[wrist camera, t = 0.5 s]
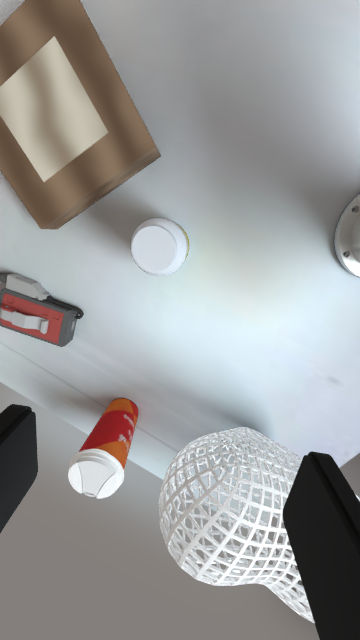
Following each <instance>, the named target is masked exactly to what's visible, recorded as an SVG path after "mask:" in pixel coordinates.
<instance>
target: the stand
mask: <svg viewBox="0 0 360 640" xmlns="http://www.w3.org/2000/svg"><path fill="white" fill-rule="evenodd" d="M160 156H161V155H160V153H159V151H158V149H157V147H156V145H155V143H154V141H153V140H152V138H151V136H150V134H149V132H148V130H147V128H146V126H145V124H144V122H143V120H142V119H141V117H140V115H139V113H138V111H137V109H136V107H135V105H134V103H133V101H132V99H131V97H130V96H129V94H128V92H127V90H126V88H125V86H124V84H123V82H122V80H121V78H120V76H119V74H118V73H117V71H116V69H115V67H114V65H113V63H112V61H111V59H110V57H109V55H108V53H107V51H106V50H105V48H104V46H103V44H102V42H101V40H100V38H99V36H98V34H97V32H96V30H95V29H94V27H93V25H92V23H91V21H90V19H89V17H88V15H87V13H86V11H85V9H84V7H83V6H82V4H81V2H80V0H25V1H24V2H23V3H22V4H21V5H20V7H19V8H18V9H17V10H16V11H15V12H14V13H13V14H12V15H11V16H10V17H9V18H8V19H7V20H6V21H5V22H4V23H3V24H2V25H1V26H0V170H1V171H2V173H3V174H4V176H5V177H6V179H7V180H8V182H9V183H10V185H11V186H12V187H13V189H14V190H15V192H16V193H17V195H18V196H19V198H20V199H21V201H22V202H23V204H24V205H25V206H26V208H27V209H28V211H29V212H30V214H31V215H32V217H33V218H34V220H35V221H36V223H37V224H38V226H39V227H40V228H41V229H58V228H60V227H61V226H63V225H64V224H65V223H67V222H68V221H70V220H71V219H73V218H74V217H75V216H77V215H78V214H80V213H81V212H82V211H84V210H85V209H87V208H88V207H90V206H91V205H92V204H94V203H95V202H97V201H98V200H99V199H101V198H102V197H104V196H105V195H107V194H108V193H109V192H111V191H112V190H114V189H115V188H116V187H118V186H119V185H121V184H122V183H124V182H125V181H126V180H128V179H129V178H131V177H132V176H134V175H135V174H136V173H138V172H139V171H141V170H142V169H143V168H145V167H146V166H148V165H149V164H151V163H152V162H153V161H155V160H156V159H158V158H159V157H160Z"/></svg>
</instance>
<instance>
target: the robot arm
mask: <svg viewBox="0 0 360 640" xmlns="http://www.w3.org/2000/svg"><path fill="white" fill-rule="evenodd" d="M352 208H353V212H352ZM334 243H335V251H336V254H337V257H338V259H339V261H340V263H341V264H342V266H343V267H344V268H345V269H346V270H347V271H348V272H350V273H351V274H353V275H354V276H357V277H360V194H359V195H357V196H356V197H355V198H354V199H353V200H352V201H351V202H350V203H349V204H348V206H347V207H346V209H345V210H344V212H343V213H342V215H341V217H340V219H339V222H338V224H337V228H336V231H335V240H334ZM344 252H345V254H344V255H343V253H344ZM37 472H38V462H37V439H36V416H35V413H34V412H32V410H31V408H30V407H28V406H22V405H15V404H12V405H10V406H8V407H7V408H6V409H5V410H4V411H3V412H2V413H0V533H1V531H2V530H3V528H4V526H5V525H6V523H7V522H8V520H9V519H10V517H11V516H12V514H13V513H14V511H15V510H16V508H17V507H18V505H19V504H20V502H21V501H22V499H23V497H24V496H25V495H26V493H27V491H28V490H29V488H30V487H31V485H32V484H33V482H34V480H35V478H36V476H37ZM283 522H284V525H285V529H286V532H287V535H288V538H289V542H290V545H291V548H292V551H293V554H294V558H295V561H296V564H297V567H298V571H299V574H300V577H301V580H302V583H303V587H304V590H305V593H306V596H307V600H308V603H309V606H310V609H311V612H312V616H313V619H314V622H315V625H316V629H317V632H318V635H319V638H320V640H360V501H359V500H358V498H357V497H356V495H355V493H354V492H353V490H352V489H351V487H350V485H349V484H348V482H347V480H346V479H345V477H344V476H343V474H342V472H341V471H340V469H339V468H338V466H337V464H336V463H335V461H334V460H333V458H332V457H331V456H330V455H329V454H324V453H317V452H310V453H309V454H308V456H307V455H305V456H304V457H303V459H302V462H301V464H300V467H299V470H298V472H297V475H296V477H295V480H294V482H293V485H292V488H291V490H290V493H289V495H288V498H287V501H286V503H285V506H284V508H283Z"/></svg>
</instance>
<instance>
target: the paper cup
mask: <svg viewBox="0 0 360 640" xmlns="http://www.w3.org/2000/svg"><path fill="white" fill-rule="evenodd" d="M137 418H138V408H137V406H136V405H135V404H134V403H133V402H132V401H131V400H128V399H125V398H118V399H115V400H114V401H112V402H111V403H110V405H109V406H108V408H107V409H106V411H105V412H104V414H103V415H102V417H101V418H100V420H99V421H98V423H97V424H96V426H95V427H94V429H93V430H92V432H91V433H90V435H89V437H88V438H87V440H86V441H85V443H84V444H83V446H82V448H81V449H80V451H79V452H78V453H76V454H75V455H74V456H73V457H72V459H71V461H70V464H69V472H68V478H69V481H70V483H71V485H72V486H73V488H74V489H75V490H76V491H78V492H79V493H82V492H83V493H85V492H86V493H85V495H87V496H91V497H93V496H97V498H105V497H108V496H110V495H112V494H113V493H114V492H115V491H116V489H117V488H118V487H119V486H120V485H121V484H122V482H123V479H124V467H125V464H126V460H127V456H128V452H129V449H130V445H131V441H132V437H133V434H134V430H135V426H136V422H137Z"/></svg>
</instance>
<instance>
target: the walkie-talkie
mask: <svg viewBox="0 0 360 640" xmlns="http://www.w3.org/2000/svg"><path fill="white" fill-rule="evenodd" d="M0 280H1V281H2V282H4V283H6V287H5V288H4V289H2V290H1V292H0V326H2V327H5V328H7V329H10V330H13V331H16V332H19V333H22V334H25V335H28V336H31V337H34V338H37V339H40V340H43V341H45V342H48V343H51V344H54V345H57V346H60V347H63V346H65V345H66V344H68V343H69V342H70V341H71V340H72V339H73V335H74V330H75V325H76V321H77V319H80V318H82V316H83V315H84V314H83V311H82V310H81V309H79V308H76V307H74V306H71V305H68V304H65V303H62V302H59V301H57V300H55V299H53V298H52V297H51V296H50V294H49V293H47V291H46V290H45V289H44V288H43V287H42V285H41V284H40V283H39V282H36V281H33V280H31V279H28V278H25V277H22V276H21V275H19V274H16V273H13V274H9V275H7V274H1V273H0ZM78 312H79V313H80V316H78Z"/></svg>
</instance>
